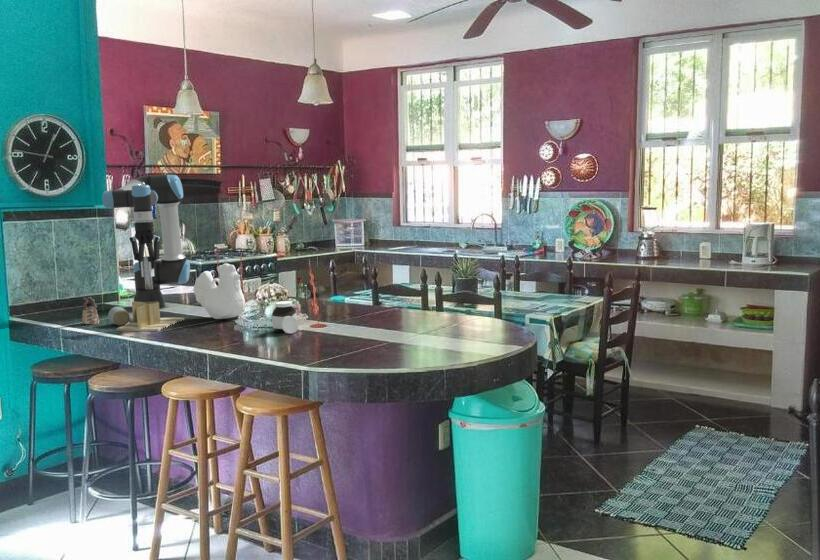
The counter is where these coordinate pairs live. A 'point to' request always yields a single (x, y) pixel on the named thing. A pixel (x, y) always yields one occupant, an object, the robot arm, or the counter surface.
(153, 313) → the brass hinge
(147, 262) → the hinge pin
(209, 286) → the decorative rooster
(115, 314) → the ceramic mug
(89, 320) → the figurine
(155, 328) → the birch board
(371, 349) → the counter surface
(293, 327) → the spread jar
